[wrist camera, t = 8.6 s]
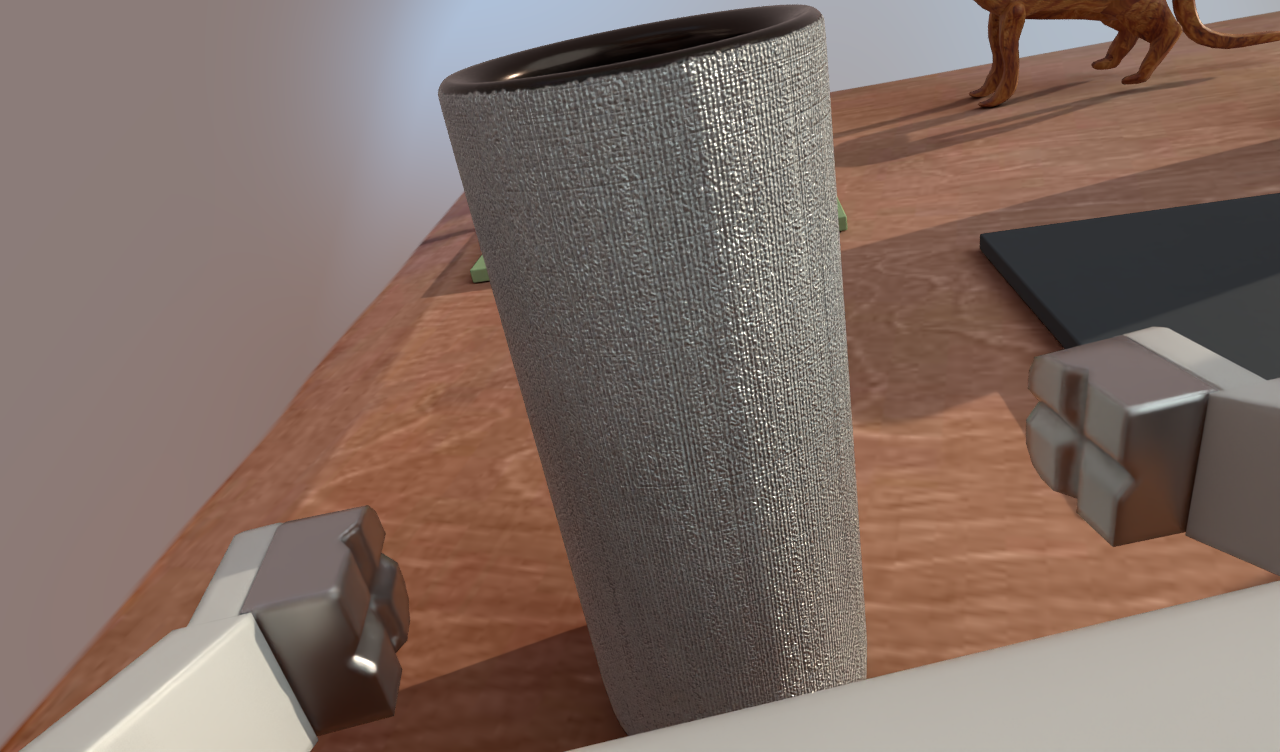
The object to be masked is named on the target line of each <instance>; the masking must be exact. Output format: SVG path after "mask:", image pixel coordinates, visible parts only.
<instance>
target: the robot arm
mask: <svg viewBox="0 0 1280 752" xmlns="http://www.w3.org/2000/svg"><path fill="white" fill-rule="evenodd" d="M1028 389H1029V391H1030V392H1031V393H1032V394H1033V395H1034V396H1035V397H1036V399H1037V400H1038V401H1039V402H1038V403H1037V405H1036V406H1035V408H1034V409H1033V411H1032V412H1031V414H1030V415H1029V416H1028V418H1027V419H1026V445H1027V448H1028V452H1029V455H1030V458H1031V462H1032V464H1033V466H1034V468H1035V469H1036V471H1037V473H1038V474H1039V476H1040V477H1041V479H1042V480H1043V481H1044V482H1045V483H1046V484H1047V485H1048V486H1049V487H1050V488H1051V489H1052V490H1053V491H1056V492H1059V493H1062V494H1065V495H1068V496H1071V497H1074V498H1077V511H1076V513H1077V514H1078V515H1080V516H1081V517H1082V518H1083V519H1084V520H1085V521H1086V522H1087V523H1088V524H1089V525H1090V526H1091V527H1092V528H1093V529H1094V530H1095V531H1097V532H1098V533H1099V534H1100V535H1101V536H1102V537H1103V538H1104V539H1105V540H1106V541H1107V542H1108V543H1109V544H1110V545H1111V546H1112V547H1116V546H1121V545H1125V544H1130V543H1135V542H1140V541H1145V540H1150V539H1154V538H1159V537H1164V536H1169V535H1174V534H1179V533H1183V532H1186V536H1188V537H1190V538H1193V539H1195V540H1197V541H1199V542H1202V543H1204V544H1206V545H1209V546H1211V547H1213V548H1216V549H1218V550H1220V551H1223V552H1225V553H1227V554H1230V555H1232V556H1234V557H1237V558H1239V559H1241V560H1244V561H1246V562H1248V563H1251V564H1253V565H1255V566H1257V567H1260V568H1262V569H1264V570H1267V571H1269V572H1271V573H1274V574H1276V575H1278V576H1280V378H1276V379H1272V380H1265V379H1263V378H1262V377H1260V376H1258V375H1256V374H1254V373H1252V372H1250V371H1248V370H1246V369H1245V368H1243V367H1241V366H1239V365H1237V364H1235V363H1233V362H1231V361H1229V360H1227V359H1226V358H1224V357H1222V356H1220V355H1218V354H1216V353H1214V352H1212V351H1210V350H1209V349H1207V348H1205V347H1203V346H1201V345H1199V344H1197V343H1195V342H1193V341H1191V340H1190V339H1188V338H1186V337H1184V336H1182V335H1180V334H1178V333H1176V332H1174V331H1173V330H1171V329H1169V328H1164V327H1150V328H1146V329H1142V330H1139V331H1135V332H1131V333H1127V334H1123V335H1120V336H1116V337H1113V338H1109V339H1105V340H1101V341H1097V342H1093V343H1089V344H1085V345H1081V346H1077V347H1073V348H1069V349H1065V350H1061V351H1057V352H1053V353H1049V354H1045V355H1041V356H1038V357H1034V359H1033V362H1032V364H1031V367H1030V369H1029V378H1028ZM385 535H386V533H385V531H384V528H383V526H382V524H381V522H380V520H379V517H378V515H377V513H376V511H375V510H373V509H372V508H371V507H370V506H368V505H366V506H361V507H356V508H352V509H347V510H342V511H337V512H332V513H327V514H322V515H317V516H312V517H307V518H303V519H298V520H293V521H288V522H285V523H276V524H272V525H268V526H264V527H260V528H256V529H251V530H247V531H244V532H242V533H239V534H237V535H235V536H234V538H233V540H232V541H231V543H230V545H229V547H228V549H227V551H226V553H225V555H224V557H223V559H222V561H221V563H220V564H219V566H218V568H217V570H216V572H215V574H214V576H213V578H212V580H211V582H210V584H209V586H208V587H207V589H206V591H205V593H204V595H203V597H202V599H201V601H200V603H199V605H198V607H197V609H196V610H195V612H194V614H193V616H192V618H191V620H190V622H189V624H188V626H187V627H185V628H181V629H177V630H173V631H171V632H170V633H169V634H167V635H166V636H165V637H164V638H162V639H161V640H160V641H159V642H157V643H156V644H155V645H154V646H152V647H151V648H150V649H148V650H147V651H146V652H145V653H143V654H142V655H141V656H140V657H138V658H137V659H136V660H134V661H133V662H132V663H131V664H129V665H128V666H127V667H126V668H124V669H123V670H122V671H120V672H119V673H118V674H117V675H115V676H114V677H113V678H112V679H110V680H109V681H108V682H107V683H105V684H104V685H103V686H101V687H100V688H99V689H98V690H96V691H95V692H94V693H93V694H91V695H90V696H89V697H87V698H86V699H85V700H84V701H82V702H81V703H80V704H79V705H77V706H76V707H75V708H73V709H72V710H71V711H70V712H68V713H67V714H66V715H65V716H63V717H62V718H61V719H60V720H58V721H57V722H56V723H54V724H53V725H52V726H51V727H49V728H48V729H47V730H46V731H44V732H43V733H42V734H40V735H39V736H38V737H37V738H35V739H34V740H33V741H32V742H30V743H29V744H28V745H26V746H25V747H24V748H23V749H21V750H20V751H19V752H310V751H311V750H312V748H313V747H314V746H315V744H316V743H317V742H318V738H317V736H321V735H324V734H328V733H332V732H336V731H340V730H343V729H347V728H351V727H355V726H358V725H362V724H366V723H370V722H374V721H377V720H381V719H385V718H389V717H393V716H394V714H395V708H396V702H397V697H398V691H399V685H400V680H401V674H402V668H401V665H400V663H399V661H398V658H397V656H396V652H397V651H398V650H399V649H400V648H401V647H402V646H403V645H404V643H405V642H406V641H407V639H408V632H409V625H410V614H409V598H408V594H407V590H406V586H405V581H404V578H403V575H402V573H401V570H400V568H399V565H398V563H397V562H395V561H394V560H392V559H391V558H389V557H387V556H386V555H384V554H383V553H381V552H382V548H383V543H384V539H385ZM565 752H1280V581H1276V582H1272V583H1267V584H1263V585H1259V586H1255V587H1251V588H1246V589H1242V590H1238V591H1234V592H1230V593H1226V594H1221V595H1217V596H1213V597H1209V598H1205V599H1200V600H1196V601H1192V602H1188V603H1184V604H1179V605H1175V606H1171V607H1167V608H1163V609H1159V610H1154V611H1150V612H1146V613H1142V614H1138V615H1133V616H1129V617H1125V618H1121V619H1117V620H1112V621H1108V622H1104V623H1100V624H1096V625H1092V626H1087V627H1083V628H1079V629H1075V630H1071V631H1066V632H1062V633H1058V634H1054V635H1050V636H1045V637H1041V638H1037V639H1033V640H1029V641H1025V642H1020V643H1016V644H1012V645H1008V646H1004V647H999V648H995V649H991V650H987V651H983V652H978V653H974V654H970V655H966V656H962V657H958V658H953V659H949V660H945V661H941V662H937V663H933V664H929V665H924V666H920V667H916V668H912V669H908V670H904V671H900V672H895V673H891V674H887V675H883V676H879V677H875V678H871V679H866V680H862V681H858V682H854V683H850V684H846V685H841V686H837V687H833V688H829V689H825V690H820V691H816V692H812V693H808V694H804V695H799V696H795V697H791V698H787V699H783V700H779V701H774V702H770V703H766V704H762V705H758V706H753V707H749V708H745V709H741V710H737V711H732V712H728V713H724V714H720V715H716V716H712V717H707V718H703V719H699V720H695V721H691V722H686V723H682V724H678V725H674V726H670V727H665V728H661V729H657V730H653V731H649V732H645V733H640V734H636V735H632V736H628V737H624V738H619V739H615V740H611V741H607V742H603V743H598V744H594V745H590V746H586V747H582V748H578V749H573V750H569V751H565Z"/></svg>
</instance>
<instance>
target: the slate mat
mask: <svg viewBox="0 0 1280 752" xmlns="http://www.w3.org/2000/svg"><path fill="white" fill-rule="evenodd" d="M980 250H981V251H982V252H983V253H984V254H985V256H986V257H987V258H988V259H989V260H990V261H991V263H992V264H993V265H994V266H995V267H996V268H997V270H998V271H999V272H1000V273H1001V274H1002V275H1003V277H1004V278H1005V279H1006V280H1007V281H1008V282H1009V284H1010V285H1011V286H1012V287H1013V288H1014V289H1015V291H1016V292H1017V293H1018V294H1019V295H1020V296H1021V298H1022V299H1023V300H1024V301H1025V302H1026V304H1027V305H1028V306H1029V307H1030V308H1031V309H1032V311H1033V312H1034V313H1035V314H1036V315H1037V316H1038V318H1039V319H1040V320H1041V321H1042V322H1043V323H1044V325H1045V326H1046V327H1047V328H1048V329H1049V330H1050V332H1051V333H1052V334H1053V335H1054V336H1055V337H1056V339H1057V340H1058V341H1059V342H1060V343H1061V344H1062V346H1063V347H1064V348H1065V349H1069V348H1073V347H1077V346H1081V345H1085V344H1089V343H1093V342H1097V341H1101V340H1105V339H1109V338H1113V337H1116V336H1120V335H1123V334H1127V333H1131V332H1135V331H1139V330H1142V329H1146V328H1150V327H1164V328H1169V329H1171V330H1173V331H1174V332H1176V333H1178V334H1180V335H1182V336H1184V337H1186V338H1188V339H1190V340H1191V341H1193V342H1195V343H1197V344H1199V345H1201V346H1203V347H1205V348H1207V349H1209V350H1210V351H1212V352H1214V353H1216V354H1218V355H1220V356H1222V357H1224V358H1226V359H1227V360H1229V361H1231V362H1233V363H1235V364H1237V365H1239V366H1241V367H1243V368H1245V369H1246V370H1248V371H1250V372H1252V373H1254V374H1256V375H1258V376H1260V377H1262V378H1263V379H1265V380H1272V379H1276V378H1280V193H1276V194H1269V195H1261V196H1254V197H1247V198H1240V199H1232V200H1225V201H1218V202H1210V203H1203V204H1196V205H1189V206H1181V207H1174V208H1167V209H1159V210H1152V211H1145V212H1138V213H1130V214H1123V215H1116V216H1108V217H1101V218H1094V219H1087V220H1079V221H1072V222H1065V223H1057V224H1050V225H1043V226H1036V227H1028V228H1021V229H1014V230H1006V231H999V232H992V233H985V234H981V235H980Z"/></svg>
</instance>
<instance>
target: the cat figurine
mask: <svg viewBox="0 0 1280 752" xmlns="http://www.w3.org/2000/svg"><path fill="white" fill-rule="evenodd" d="M974 1H975V2H976V3H977V4H978V5H980V6H981V7H982V8H983V9H985V10H987V11H989V12H990V14H989V22H988V38H989V42H990V47H991V50H992V54H993V63H992V68H991V70H990V72H989V74H988V76H987V78H986V80H985V83H984V85H983V86H982V87H981V88H980V89H978V90H976V91H973V92H970V93H969V95H970V96H972V97H984V96H987V95H989V94H991V93H993V92H995V93H994V95H993V96H992V97H991V98H990V99H988V100H986V101H983V102H980V103H978V105H979V106H981V107H993V106H996V105H999V104H1001V103H1003V102H1005V101H1006V100H1008V99H1009V98H1010V97H1011V96H1012V95H1013V93H1014V92H1015V90H1016V87H1017V83H1018V76H1019V50H1018V47H1019V38H1020V35H1021V32H1022V29H1023V26H1024V23H1025V19H1086V20H1097V21H1101V22H1102V23H1103V24H1104V25H1107V26H1109V27H1111V28H1113V29H1115V30H1117V31H1119V32H1118V34H1117V36H1116V37H1115V39H1114V40H1113V42H1112V44H1111V45H1110V47H1109V49H1108V51H1107V54H1106V57H1105V58H1103V59H1100V60H1097V61H1095V62H1093V63H1092V64H1091V65H1092V67H1093V68H1094V69H1097V70H1104V69H1111V68H1115V67H1117V66H1118V65H1119V64H1120V62H1121V60H1122V59H1123V58H1124V57H1125V56H1126V55H1127V53H1128V52H1129V51H1130V50H1131V49H1132V48H1133V47H1134V45H1135V44H1136V42H1137V40H1138V38H1141V39H1143V40H1145V41H1147V42H1149V43H1150V49H1149V51H1148V53H1147V55H1146V56H1145V58H1144V60H1143V62H1142V64H1141V66H1140V68H1139V71H1138V72H1137V73H1136V74H1133V75H1130V76H1127V77H1124V78H1123V79H1122V82H1121V83H1122V84H1138V83H1142V82H1146V81H1147V80H1148V79H1149V78H1150V76H1151V74H1152V73H1153V71H1154V70H1155V69H1156V68H1157V66H1158V65H1159V64H1160V63H1161V62H1162V60H1163V59H1164V58H1165V57H1166V55H1167V54H1168V53H1169V51H1170V50H1171V49H1172V47H1173V46H1174V45H1175V43H1176V42H1177V40H1178V39H1179V37H1180V35H1181V33H1182V31H1183V32H1184V33H1185V34H1186V35H1187V36H1188V38H1189V39H1191V40H1193V41H1194V42H1196V43H1197V44H1200V45H1204V46H1207V47H1211V48H1221V49H1231V48H1240V47H1246V46H1252V45H1257V44H1263V43H1269V42H1274V41H1279V40H1280V32H1279V31H1266V32H1256V33H1248V34H1233V35H1232V34H1225V33H1219V32H1216V31H1213V30H1210V29H1208V28H1207V27H1205V26H1204V25H1203V24H1202V22H1201V21H1200V19H1199V16H1198V14H1197V11H1196V5H1195V0H1172V3H1173V10H1174V14H1175V16H1176V19H1177V21H1176V19H1175V17H1174V16H1173V14H1172V12H1171V10H1170V9H1169V7H1168V4H1167V2H1166V0H974Z"/></svg>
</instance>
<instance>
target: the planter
mask: <svg viewBox="0 0 1280 752" xmlns="http://www.w3.org/2000/svg"><path fill="white" fill-rule="evenodd" d="M438 96H439V101H440V105H441V109H442V112H443V116H444V119H445V123H446V126H447V130H448V134H449V138H450V141H451V145H452V148H453V152H454V155H455V159H456V163H457V166H458V170H459V173H460V177H461V180H462V183H463V187H464V191H465V195H466V198H467V202H468V205H469V209H470V212H471V216H472V219H473V223H474V226H475V230H476V234H477V237H478V241H479V244H480V248H481V251H482V255H483V258H484V262H485V265H486V269H487V272H488V276H489V280H490V283H491V287H492V290H493V294H494V297H495V301H496V304H497V308H498V311H499V315H500V318H501V322H502V326H503V329H504V333H505V336H506V340H507V343H508V347H509V350H510V354H511V357H512V361H513V365H514V368H515V372H516V375H517V379H518V382H519V386H520V389H521V393H522V396H523V400H524V403H525V407H526V411H527V414H528V418H529V421H530V425H531V428H532V432H533V435H534V439H535V442H536V446H537V450H538V453H539V457H540V460H541V464H542V467H543V471H544V474H545V478H546V481H547V485H548V488H549V492H550V496H551V499H552V503H553V506H554V510H555V513H556V517H557V520H558V524H559V527H560V531H561V534H562V538H563V542H564V545H565V549H566V552H567V556H568V559H569V563H570V566H571V570H572V573H573V577H574V581H575V584H576V588H577V591H578V595H579V598H580V602H581V605H582V609H583V612H584V616H585V619H586V623H587V627H588V630H589V634H590V637H591V641H592V644H593V648H594V651H595V655H596V658H597V662H598V666H599V669H600V673H601V676H602V680H603V683H604V686H605V689H606V691H607V694H608V697H609V699H610V702H611V705H612V707H613V710H614V713H615V715H616V717H617V719H618V721H619V723H620V724H621V726H622V728H623V729H624V730H625V732H626V733H627V734H628V735H629V736H632V735H636V734H640V733H645V732H649V731H653V730H657V729H661V728H665V727H670V726H674V725H678V724H682V723H686V722H691V721H695V720H699V719H703V718H707V717H712V716H716V715H720V714H724V713H728V712H732V711H737V710H741V709H745V708H749V707H753V706H758V705H762V704H766V703H770V702H774V701H779V700H783V699H787V698H791V697H795V696H799V695H804V694H808V693H812V692H816V691H820V690H825V689H829V688H833V687H837V686H841V685H846V684H850V683H854V682H858V681H862V680H866V674H867V635H866V620H865V606H864V591H863V576H862V561H861V547H860V532H859V517H858V502H857V487H856V473H855V458H854V443H853V428H852V414H851V399H850V384H849V369H848V354H847V340H846V325H845V310H844V295H843V281H842V266H841V251H840V236H839V221H838V207H837V192H836V177H835V162H834V148H833V133H832V118H831V103H830V89H829V74H828V60H827V46H826V34H825V24H824V18H823V15H822V14H821V13H820V12H819V11H818V10H817V9H815V8H814V7H811V6H807V5H775V6H763V7H752V8H744V9H735V10H728V11H721V12H715V13H707V14H701V15H694V16H688V17H682V18H677V19H670V20H665V21H659V22H653V23H648V24H642V25H637V26H632V27H627V28H622V29H617V30H612V31H607V32H602V33H597V34H593V35H589V36H583V37H579V38H574V39H570V40H566V41H561V42H557V43H553V44H549V45H545V46H540V47H537V48H532V49H529V50H525V51H521V52H517V53H513V54H510V55H507V56H503V57H499V58H496V59H492V60H489V61H486V62H483V63H480V64H477V65H474V66H471V67H468V68H465V69H463V70H460V71H458V72H456V73H454V74H451V75H450V76H448V77H447V78H446V79H444V80H443V82H442V83H441V85H440V87H439V91H438Z"/></svg>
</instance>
